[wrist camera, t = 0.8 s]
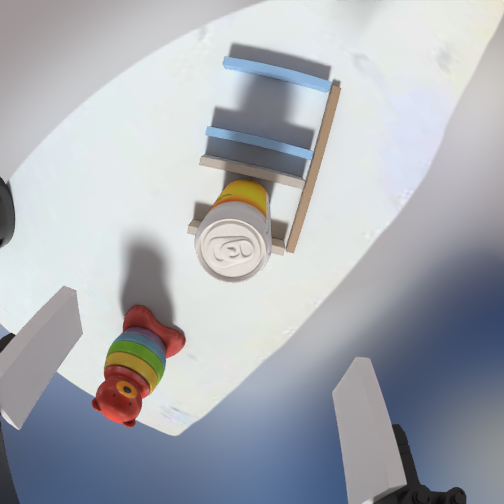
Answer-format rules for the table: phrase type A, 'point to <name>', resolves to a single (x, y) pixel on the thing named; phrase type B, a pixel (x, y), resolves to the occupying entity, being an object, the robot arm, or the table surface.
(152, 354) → the stacking bear
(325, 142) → the rack
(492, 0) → the table surface
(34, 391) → the robot arm
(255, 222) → the beer can
